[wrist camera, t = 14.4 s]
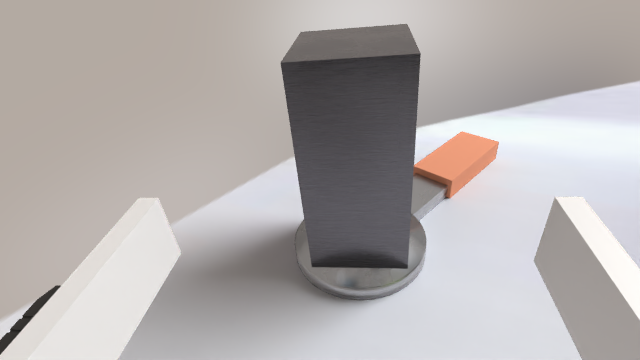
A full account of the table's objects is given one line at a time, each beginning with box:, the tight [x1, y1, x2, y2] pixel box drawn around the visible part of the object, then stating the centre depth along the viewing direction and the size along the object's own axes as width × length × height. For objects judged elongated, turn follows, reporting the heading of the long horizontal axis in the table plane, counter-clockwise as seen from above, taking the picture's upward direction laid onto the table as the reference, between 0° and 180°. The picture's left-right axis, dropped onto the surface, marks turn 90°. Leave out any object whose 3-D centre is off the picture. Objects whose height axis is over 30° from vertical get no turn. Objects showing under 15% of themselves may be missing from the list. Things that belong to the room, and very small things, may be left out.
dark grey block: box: [281, 24, 420, 269], centre depth 22 cm, size 6×6×13 cm
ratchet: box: [295, 132, 499, 300], centre depth 28 cm, size 22×9×4 cm, turn 133°
